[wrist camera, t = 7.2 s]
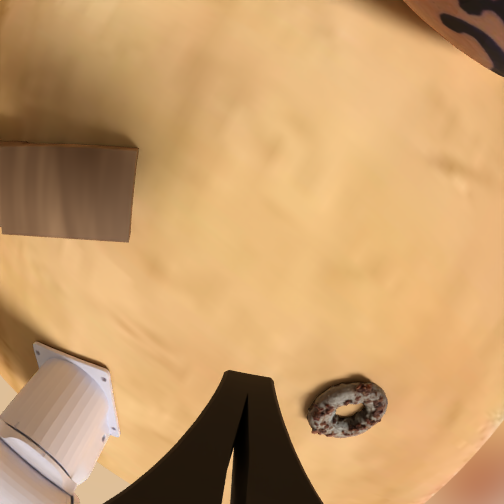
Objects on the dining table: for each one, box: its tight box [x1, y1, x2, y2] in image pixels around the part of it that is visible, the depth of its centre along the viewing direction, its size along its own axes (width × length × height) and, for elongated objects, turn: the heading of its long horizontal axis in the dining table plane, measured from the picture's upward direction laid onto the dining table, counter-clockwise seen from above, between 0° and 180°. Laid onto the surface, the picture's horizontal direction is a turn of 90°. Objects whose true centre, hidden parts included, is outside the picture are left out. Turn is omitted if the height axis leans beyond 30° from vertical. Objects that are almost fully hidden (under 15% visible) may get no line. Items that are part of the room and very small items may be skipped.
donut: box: [307, 382, 388, 438], centre depth 21 cm, size 8×8×2 cm
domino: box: [0, 144, 139, 242], centre depth 15 cm, size 2×5×8 cm
